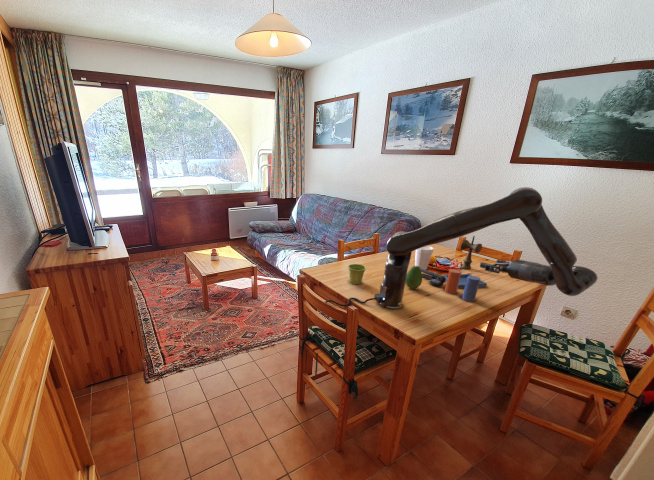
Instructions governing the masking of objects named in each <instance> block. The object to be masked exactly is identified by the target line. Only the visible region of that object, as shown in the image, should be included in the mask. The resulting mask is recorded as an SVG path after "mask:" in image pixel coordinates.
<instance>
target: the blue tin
mask: <svg viewBox="0 0 654 480" xmlns="http://www.w3.org/2000/svg"><path fill="white" fill-rule="evenodd" d="M480 280H481V278H480V277H479V276H476V275H472V276H468V277H467V280H466V284H465V288H463V293H462V296H461V299H462V300H463V301H466V302H470V303H472V302H475V301H476V297H477V293H478V290H479V287H478V286H479V283H480Z"/></svg>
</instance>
